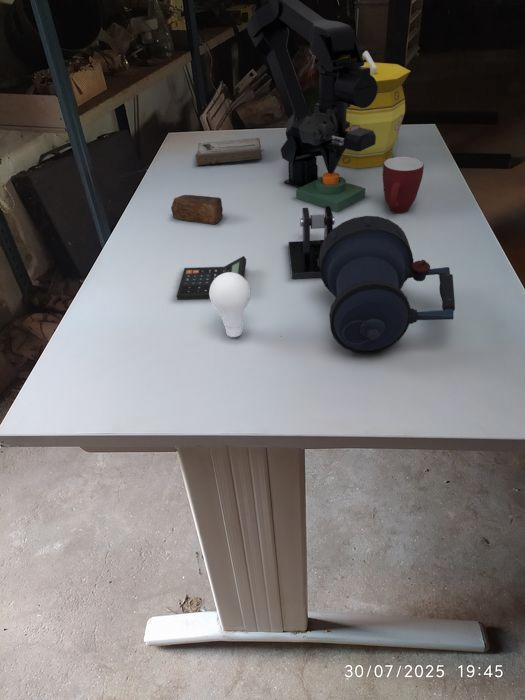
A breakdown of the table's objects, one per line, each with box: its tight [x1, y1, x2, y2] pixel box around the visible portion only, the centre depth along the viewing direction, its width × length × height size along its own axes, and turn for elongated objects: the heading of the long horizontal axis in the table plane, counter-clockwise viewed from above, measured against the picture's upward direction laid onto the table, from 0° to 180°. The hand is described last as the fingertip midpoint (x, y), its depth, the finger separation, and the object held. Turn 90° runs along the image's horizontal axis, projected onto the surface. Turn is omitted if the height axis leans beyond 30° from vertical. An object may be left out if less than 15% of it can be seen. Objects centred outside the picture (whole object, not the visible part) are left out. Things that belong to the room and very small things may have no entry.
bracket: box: [288, 206, 336, 280], centre depth 98 cm, size 12×10×10 cm
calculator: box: [176, 255, 247, 301], centre depth 96 cm, size 9×12×3 cm
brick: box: [170, 194, 224, 225], centre depth 117 cm, size 11×4×5 cm, turn 69°
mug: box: [382, 156, 425, 214], centre depth 112 cm, size 10×8×10 cm
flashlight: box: [317, 215, 456, 354], centre depth 80 cm, size 15×21×20 cm
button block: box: [295, 176, 366, 213], centre depth 122 cm, size 12×10×4 cm
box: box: [195, 137, 263, 166], centre depth 145 cm, size 11×17×3 cm, turn 91°
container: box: [337, 50, 411, 170], centre depth 134 cm, size 21×21×25 cm
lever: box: [309, 213, 325, 230], centre depth 100 cm, size 11×5×2 cm, turn 1°
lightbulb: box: [209, 272, 252, 338], centre depth 81 cm, size 6×6×11 cm
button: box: [322, 171, 340, 185], centre depth 120 cm, size 4×4×2 cm
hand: (330, 172), depth 119 cm, fingers closed
